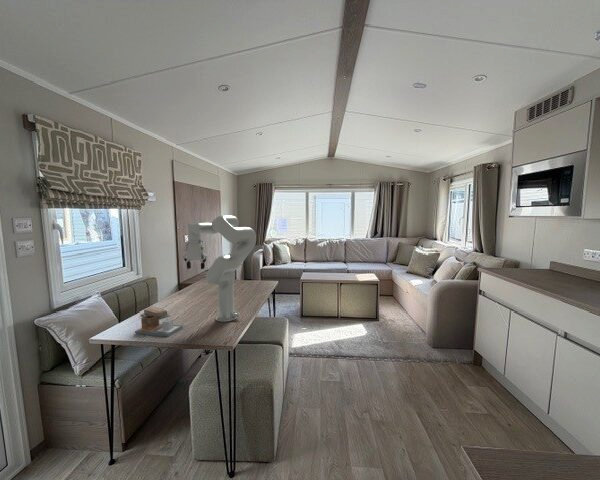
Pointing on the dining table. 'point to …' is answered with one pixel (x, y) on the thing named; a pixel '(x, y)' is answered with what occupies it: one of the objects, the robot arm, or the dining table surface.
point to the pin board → (161, 329)
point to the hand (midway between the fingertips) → (195, 268)
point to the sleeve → (150, 322)
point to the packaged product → (155, 312)
